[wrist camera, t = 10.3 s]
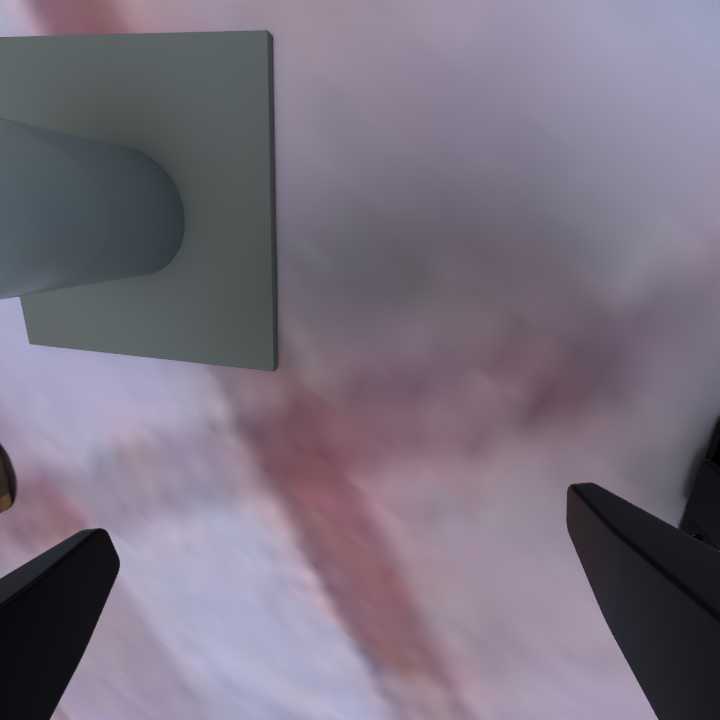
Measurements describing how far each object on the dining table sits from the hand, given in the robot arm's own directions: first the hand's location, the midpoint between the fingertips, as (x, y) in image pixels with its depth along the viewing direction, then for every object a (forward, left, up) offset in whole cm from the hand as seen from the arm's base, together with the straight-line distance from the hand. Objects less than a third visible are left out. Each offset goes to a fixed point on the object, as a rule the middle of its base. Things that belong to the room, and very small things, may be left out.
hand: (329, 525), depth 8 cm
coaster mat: (+13, -5, -12) cm, 19 cm away
